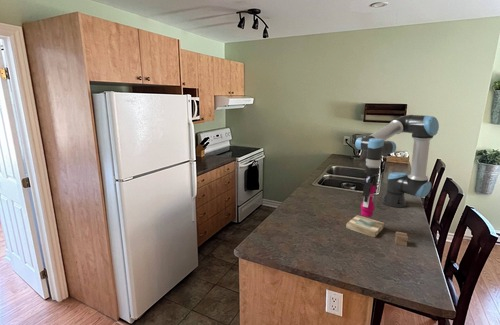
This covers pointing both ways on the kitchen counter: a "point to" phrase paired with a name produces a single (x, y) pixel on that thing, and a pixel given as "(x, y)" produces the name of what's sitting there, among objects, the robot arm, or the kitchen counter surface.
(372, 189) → the pepper mill
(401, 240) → the block
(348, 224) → the base plate
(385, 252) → the kitchen counter surface
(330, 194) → the kitchen counter surface
